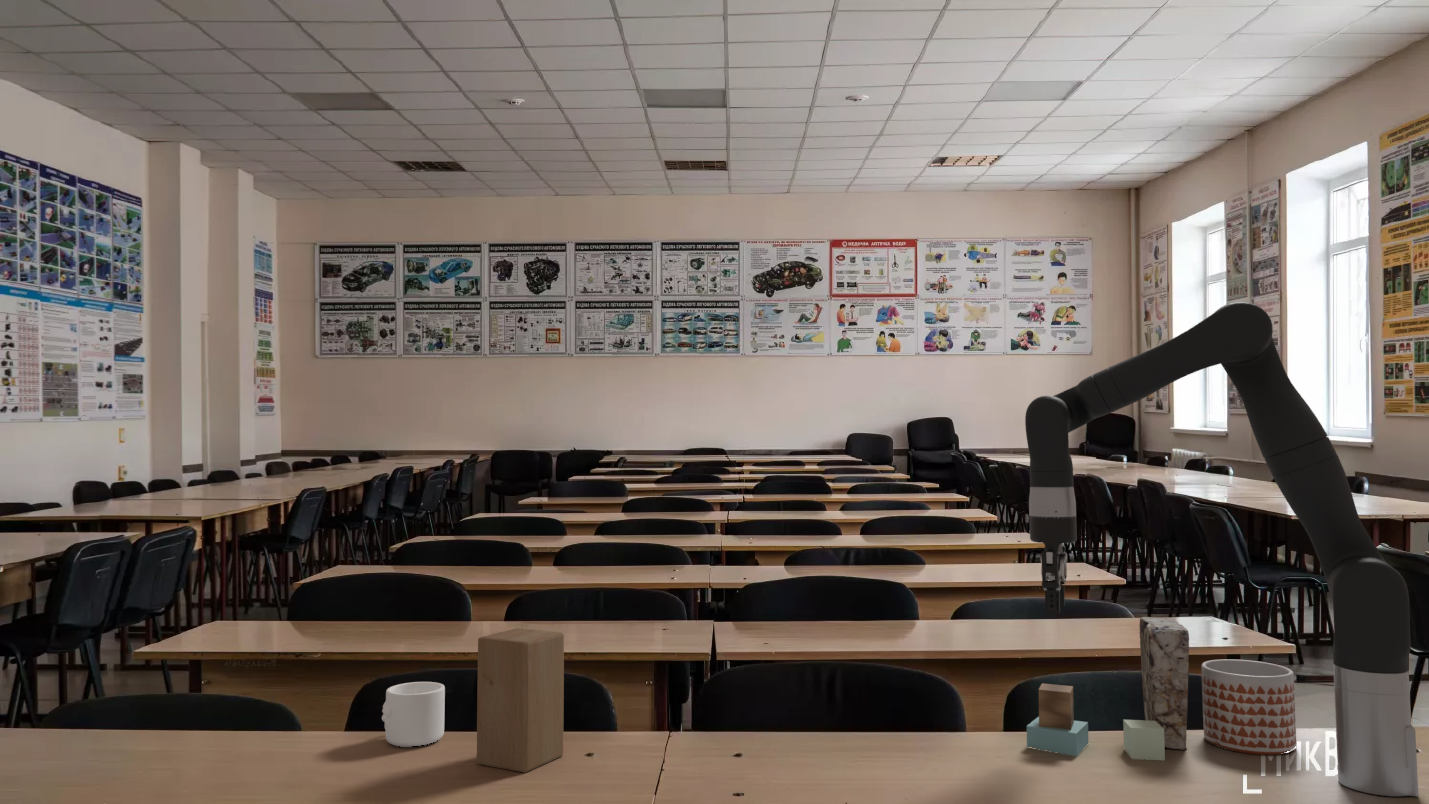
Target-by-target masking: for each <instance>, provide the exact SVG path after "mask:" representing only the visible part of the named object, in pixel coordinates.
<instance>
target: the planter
mask: <svg viewBox="0 0 1429 804" xmlns="http://www.w3.org/2000/svg"><path fill="white" fill-rule="evenodd" d="M1294 674H1295V673H1294V671H1293V670H1292V669H1290V668H1288V667H1286V666H1282V665H1281V664H1279V665H1278V664H1274V663H1269V662H1265V661H1257V660H1249V659H1248V660H1247V659H1230V658H1229V659H1222V658H1221V659H1212V660H1206V661H1204V662H1202V664H1201V691H1202V692H1201V693H1202V718H1203V738H1204V740H1205V741H1207V742H1208V743H1209V742H1210V743H1209V744H1211V743H1212V744H1211V745H1213V744H1214V745H1213V746H1215V745H1218V746H1220V747H1223V748H1226V749H1225V750H1227V749H1229V750H1228V751H1231V750H1233V751H1232V752H1235V751H1237V752H1236V753H1241V752H1242V754H1246V755H1247V754H1248V755H1249V754H1250V755H1259V756H1278V755H1277V754H1281V753H1284V752H1287V751H1290V750H1291V749H1293V748H1294V747H1295V746H1296V747H1297V723H1296V720H1297V719H1296V699H1295V698H1296V697H1295V675H1294ZM1220 747H1219V748H1220ZM1223 748H1222V749H1223Z"/></svg>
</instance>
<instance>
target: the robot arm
mask: <svg viewBox="0 0 1429 804" xmlns="http://www.w3.org/2000/svg"><path fill="white" fill-rule="evenodd" d="M1273 331H1274V330H1273V322H1272V319H1271V317H1270V316H1269V314H1268V312H1266V311H1265V309H1263V308H1262V307H1261V306H1258V305H1257V304H1255V303H1251V302H1246V301H1235V302H1230V303H1227V304H1224V305H1223V306H1221V307H1220V308H1218V309H1217V310H1216V311H1214V312H1213V313H1211V314H1210V315H1209V316H1207V317H1206V318H1205V319H1202V320H1201V321H1200V322H1198V323H1196V324H1195V325H1194V326H1192V327H1190V328H1189V329H1187V330H1186V331H1184V332H1181V334H1179V335H1177V336H1175V337H1173V338H1171V339H1169V340H1168V341H1166V342H1163V343H1161V344H1160V345H1157V346H1155V347H1153V348H1150V349H1148V350H1146V351H1144V352H1142V353H1139V354H1137V355H1134V356H1132V357H1130V358H1129V357H1128V358H1127V359H1125V360H1122V361H1120V362H1117V363H1115V364H1113V365H1111V366H1108V367H1106V368H1105V369H1101V370H1100V371H1098V372H1095V373H1094V374H1093V373H1092V374H1093V375H1092V374H1091V375H1089V376H1087V377H1085V378H1083V379H1082V380H1080V381H1079V383H1078V384H1076V385H1074V386H1072V387H1070V388H1067V389H1066V390H1063V391H1062V392H1060V393H1057V394H1054V395H1042V396H1038V397H1035V399H1033V400H1032V401H1031V402H1030V403H1029V404H1028V406H1027V408H1026V411H1025V417H1024V418H1025V419H1024V421H1025V422H1024V426H1025V435H1026V442H1027V448H1028V454H1029V496H1028V497H1029V498H1028V508H1029V509H1028V511H1029V513H1028V514H1029V515H1028V516H1029V518H1028V520H1029V539H1030V540H1031V541H1032V542H1033V543H1039V544H1040V543H1041V544H1043V545H1044V550H1041V553H1040V560H1039V561H1040V564H1041V568H1040V572H1041V573H1040V574H1041V587H1042V588H1043V591H1044V603H1045V605H1044V607H1045V608H1044V609H1045V613H1046V614H1048V615H1059V614H1060V613H1061V608H1064V607H1065V605H1066V600H1065V585H1066V583H1067V574H1068V566H1067V565H1068V564H1067V563H1068V553H1067V552H1066V546H1065V545H1063V544H1073V543H1076V542H1077V540H1078V535H1077V534H1078V533H1077V530H1078V529H1077V526H1078V525H1077V501H1076V495H1075V488H1074V487H1075V486H1074V467H1073V466H1074V464H1073V458H1072V457H1071V454H1070V449H1069V448H1070V445H1069V444H1070V443H1069V441H1070V440H1069V433H1071V432H1073V431H1075V430H1077V429H1078V428H1081V427H1083V426H1084V425H1087V424H1088V423H1090V422H1092V421H1093V420H1096V419H1097V418H1098V419H1099V418H1100V417H1104V416H1106V415H1110V414H1112V413H1114V412H1116V411H1119V410H1120V409H1123V408H1125V407H1127V406H1130V405H1133V404H1135V403H1138V401H1140V400H1142V399H1145V398H1147V397H1148V396H1149V397H1150V396H1151V395H1152V394H1154V393H1157V392H1158V391H1160V390H1161V389H1163V388H1165V387H1167V386H1169V385H1170V384H1172V383H1174V382H1176V381H1178V380H1180V379H1182V378H1184V377H1186V376H1188V375H1191V374H1194V373H1196V372H1198V371H1201V370H1204V369H1207V368H1210V367H1214V366H1217V365H1221V366H1222V368H1223V369H1224V371H1225V373H1227V374H1226V375H1228V377H1229V379H1230V380H1231V383H1232V384H1233V385H1234V388H1235V389H1236V391H1237V393H1238V394H1239V395H1238V396H1240V398H1241V401H1242V403H1243V406H1244V408H1245V412H1246V415H1247V418H1248V421H1249V424H1250V427H1251V430H1252V433H1253V436H1254V437H1255V440H1256V443H1257V445H1258V448H1259V450H1260V452H1261V455H1262V457H1263V459H1264V461H1265V464H1266V466H1267V468H1268V469H1269V472H1270V473H1271V475H1272V477H1273V479H1274V481H1275V483H1276V485H1277V486H1278V488H1279V490H1280V492H1281V494H1282V495H1283V497H1284V499H1285V501H1286V502H1287V503H1288V506H1290V509H1291V511H1293V514H1294V515H1295V516H1296V518H1297V519H1298V520H1299V522H1300V524H1301V525H1302V527H1303V528H1304V530H1305V531H1306V533H1307V536H1308V537H1309V539H1310V541H1311V543H1312V546H1313V548H1314V551H1315V554H1316V557H1317V559H1318V561H1319V563H1320V567H1321V569H1322V572H1323V576H1324V578H1325V581H1326V585H1327V588H1328V592H1329V595H1330V597H1331V598H1332V607H1333V608H1332V609H1333V610H1332V611H1333V632H1334V633H1333V644H1332V659H1333V660H1332V661H1333V664H1332V667H1333V668H1332V670H1333V689H1334V691H1333V693H1334V710H1335V713H1334V714H1335V734H1336V757H1337V764H1336V765H1337V767H1336V768H1337V778H1338V782H1339V783H1340V784H1341V785H1343V786H1344V787H1347V788H1349V789H1351V790H1354V791H1359V792H1361V793H1366V794H1370V795H1371V794H1372V795H1379V796H1386V797H1409V796H1410V797H1419V780H1418V779H1419V778H1418V761H1417V759H1418V756H1417V738H1416V737H1417V736H1416V728H1415V727H1414V726H1413V724H1412V712H1411V693H1410V692H1411V691H1410V674H1409V673H1410V671H1409V662H1410V661H1409V659H1410V658H1409V657H1410V654H1411V621H1410V620H1411V613H1410V611H1411V610H1410V595H1409V589H1408V586H1407V583H1406V581H1405V579H1404V577H1403V576H1402V575H1401V573H1400V572H1399V571H1398V570H1397V569H1395V568H1394V567H1393V566H1391V565H1390V564H1389V563H1388V562H1387V561H1386V560H1385V558H1384V557H1383V555H1382V554H1381V552H1380V550H1379V549H1378V548H1377V546H1376V545H1375V543H1374V541H1373V540H1372V538H1371V537H1370V535H1369V533H1368V532H1367V530H1366V528H1365V527H1364V524H1363V523H1362V521H1361V518H1360V516H1359V514H1358V511H1357V507H1356V504H1355V501H1354V497H1353V493H1352V489H1351V487H1350V483H1349V480H1348V478H1347V475H1346V472H1345V469H1344V467H1343V465H1342V462H1341V460H1340V458H1339V456H1338V453H1337V452H1336V450H1335V447H1334V445H1333V443H1332V441H1331V439H1330V438H1329V436H1328V434H1327V432H1326V431H1325V428H1324V427H1323V425H1322V423H1321V422H1320V421H1319V418H1318V417H1317V415H1316V414H1315V413H1314V412H1313V410H1312V409H1311V407H1310V406H1309V404H1308V403H1307V402H1306V400H1305V399H1304V398H1303V396H1302V395H1301V394H1300V393H1299V391H1298V390H1297V388H1295V386H1294V385H1293V383H1292V382H1291V379H1290V378H1289V376H1288V374H1287V372H1286V369H1285V368H1284V365H1283V363H1282V360H1281V357H1280V355H1279V353H1278V349H1277V347H1276V345H1275V341H1274V338H1273Z"/></svg>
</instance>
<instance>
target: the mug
mask: <svg viewBox="0 0 1429 804" xmlns="http://www.w3.org/2000/svg"><path fill="white" fill-rule="evenodd" d="M445 697H446V687H445V685H444V684H443V683H440V682H436V681H435V682H434V681H433V682H432V681H413V682H412V681H411V682H405V683H398V684H396V685H392V686H390V687H388V688H387V689H386V691H385V702H384V703H383V705H382V710H381V712H382V713H383V714H382V716H381V720H382V722H384V729H385V740H386V742H388V743H389V744H390V745H392V746H395V747H399V746H400V748H413V747H412V746H419V747H422V746H421V745H424V746H428V745H431V744H430V743H432V744H434V743H436V742H437V740H438V741H440V740H441V739H442V737H443V736H444V734H445V706H446V705H445V703H446V702H445V700H446V699H445ZM433 742H434V743H433ZM427 744H428V745H427Z"/></svg>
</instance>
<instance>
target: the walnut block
mask: <svg viewBox="0 0 1429 804" xmlns="http://www.w3.org/2000/svg"><path fill="white" fill-rule="evenodd" d="M1074 709H1075V708H1074V686H1073V685H1063V684H1062V685H1061V684H1051V683H1041V684H1040V686H1039V688H1038V717H1039V726H1042V727H1051V728H1059V729H1068V730H1071V729H1072V726H1073V723H1074V720H1075V718H1074V715H1075V713H1074Z"/></svg>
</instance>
